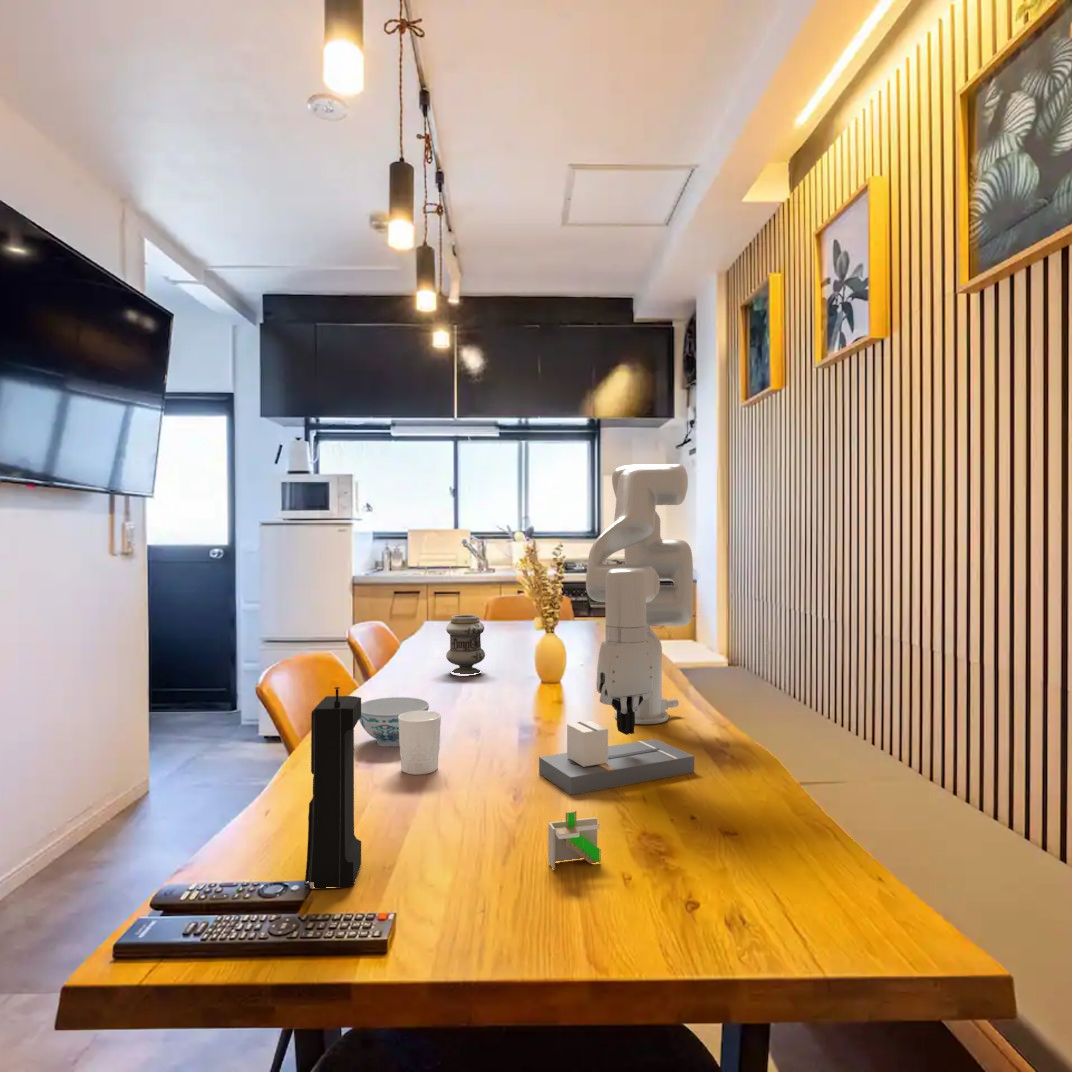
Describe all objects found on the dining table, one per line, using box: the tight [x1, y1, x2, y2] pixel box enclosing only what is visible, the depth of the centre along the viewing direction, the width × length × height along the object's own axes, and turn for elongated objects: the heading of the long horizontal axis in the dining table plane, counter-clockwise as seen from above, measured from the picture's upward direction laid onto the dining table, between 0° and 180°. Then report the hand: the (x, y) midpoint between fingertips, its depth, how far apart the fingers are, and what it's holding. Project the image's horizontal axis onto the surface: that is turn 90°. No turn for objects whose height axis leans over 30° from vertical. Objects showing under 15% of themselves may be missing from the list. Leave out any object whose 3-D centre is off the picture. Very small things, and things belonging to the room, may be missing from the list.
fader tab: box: [566, 720, 609, 767], centre depth 129 cm, size 5×6×6 cm
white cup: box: [398, 710, 442, 776], centre depth 134 cm, size 8×8×10 cm
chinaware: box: [358, 696, 430, 747], centre depth 151 cm, size 15×15×8 cm
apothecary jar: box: [445, 614, 486, 674], centre depth 223 cm, size 12×12×18 cm
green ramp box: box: [547, 810, 602, 869], centre depth 95 cm, size 4×7×8 cm, turn 105°
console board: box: [538, 738, 695, 796], centre depth 132 cm, size 26×12×3 cm, turn 116°
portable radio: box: [304, 686, 362, 888], centre depth 93 cm, size 8×6×25 cm
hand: (625, 732), depth 134 cm, fingers closed
